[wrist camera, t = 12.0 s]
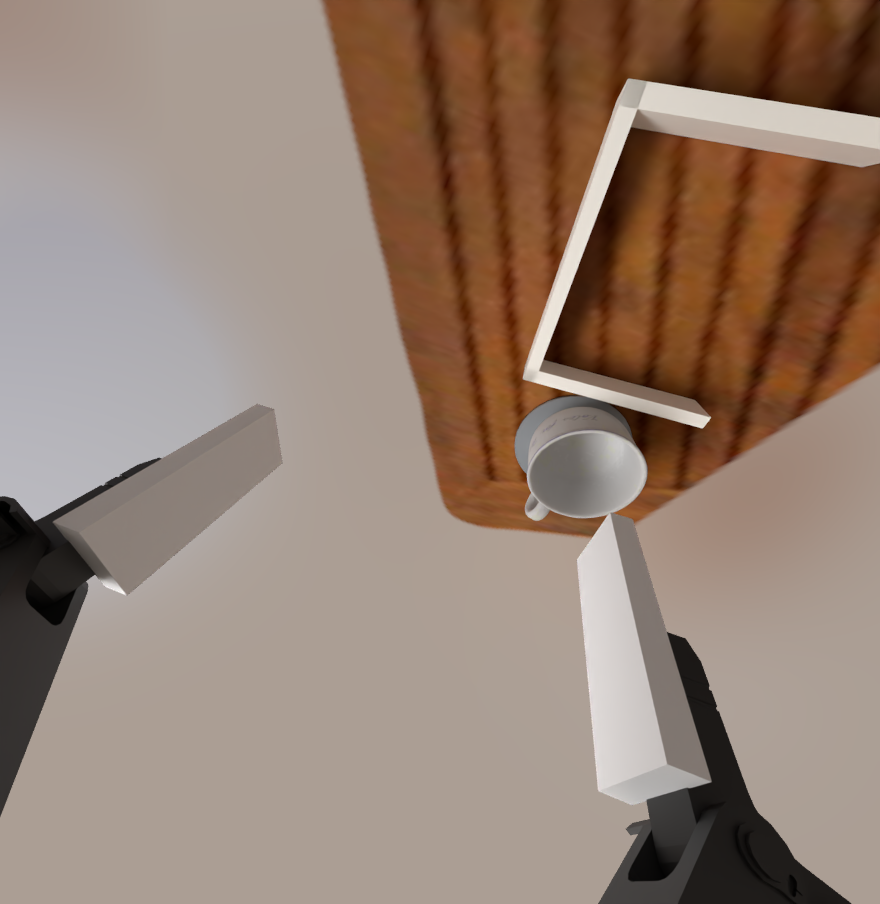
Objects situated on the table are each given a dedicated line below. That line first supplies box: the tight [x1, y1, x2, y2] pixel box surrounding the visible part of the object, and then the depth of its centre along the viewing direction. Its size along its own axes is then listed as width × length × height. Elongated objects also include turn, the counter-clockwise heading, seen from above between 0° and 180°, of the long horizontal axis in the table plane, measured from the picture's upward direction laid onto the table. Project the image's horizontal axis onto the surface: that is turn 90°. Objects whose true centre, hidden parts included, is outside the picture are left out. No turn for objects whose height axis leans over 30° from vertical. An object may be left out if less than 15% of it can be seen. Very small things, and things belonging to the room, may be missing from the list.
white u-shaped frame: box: [523, 79, 880, 429], centre depth 27 cm, size 20×17×4 cm
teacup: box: [525, 407, 647, 520], centre depth 35 cm, size 14×11×8 cm
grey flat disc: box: [515, 395, 632, 474], centre depth 39 cm, size 13×13×1 cm
